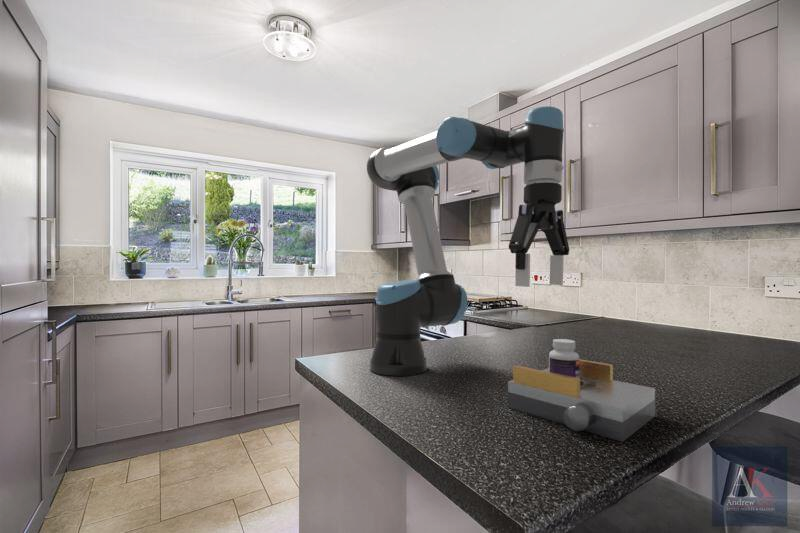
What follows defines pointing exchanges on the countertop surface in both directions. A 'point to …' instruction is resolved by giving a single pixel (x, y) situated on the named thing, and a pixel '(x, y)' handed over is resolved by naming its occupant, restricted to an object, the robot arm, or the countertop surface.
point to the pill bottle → (564, 358)
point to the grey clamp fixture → (583, 399)
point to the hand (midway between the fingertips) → (540, 285)
